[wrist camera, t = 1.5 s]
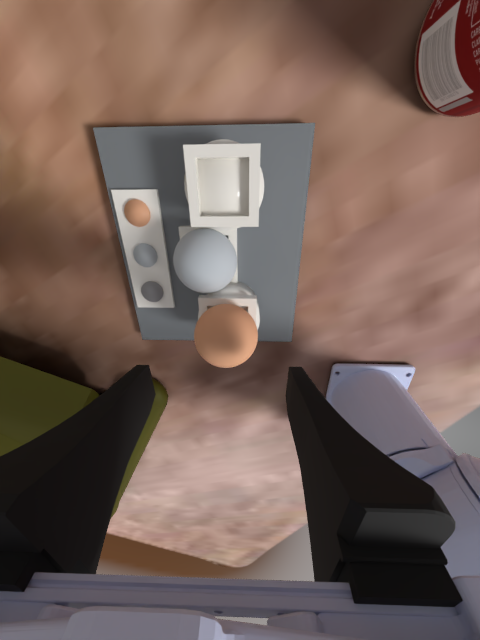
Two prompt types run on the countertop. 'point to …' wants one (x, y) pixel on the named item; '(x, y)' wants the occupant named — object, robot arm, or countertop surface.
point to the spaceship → (55, 409)
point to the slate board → (174, 222)
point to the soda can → (450, 57)
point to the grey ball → (205, 260)
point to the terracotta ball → (225, 335)
